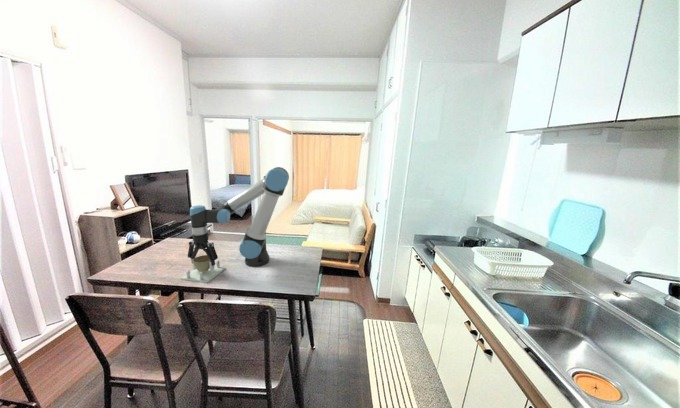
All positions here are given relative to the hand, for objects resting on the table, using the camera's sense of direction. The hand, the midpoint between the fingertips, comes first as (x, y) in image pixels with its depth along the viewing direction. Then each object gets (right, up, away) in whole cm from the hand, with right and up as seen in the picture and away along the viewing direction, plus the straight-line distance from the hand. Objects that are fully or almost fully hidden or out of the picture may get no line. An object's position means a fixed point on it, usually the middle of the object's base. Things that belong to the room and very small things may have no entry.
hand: (204, 269), depth 137 cm
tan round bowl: (0, 0, 0) cm, 0 cm away
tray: (0, -3, +1) cm, 3 cm away
